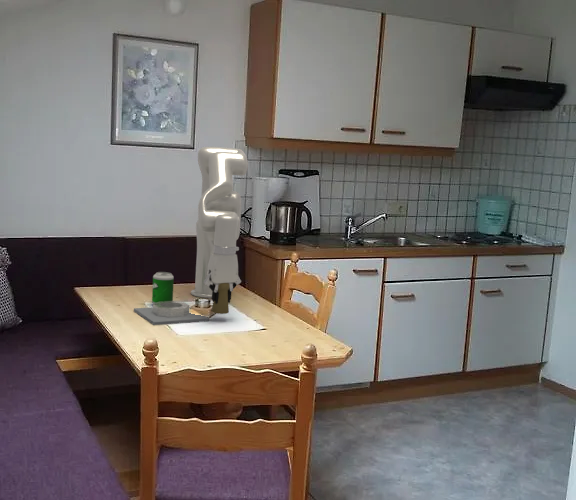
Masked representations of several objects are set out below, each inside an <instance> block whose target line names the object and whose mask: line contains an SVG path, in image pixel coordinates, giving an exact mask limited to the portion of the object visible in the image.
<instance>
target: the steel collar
mask: <svg viewBox="0 0 576 500" xmlns="http://www.w3.org/2000/svg"><path fill="white" fill-rule="evenodd" d="M152 307H153V313H154V314H156V315H157V316H162V317H170V318H173V317H184V316H186V315H188V314H189V307H190V305H189V304H188V303H186V302H183V301H174V300H173V301H161V302H157V303H155V304H153V303H152Z"/></svg>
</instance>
